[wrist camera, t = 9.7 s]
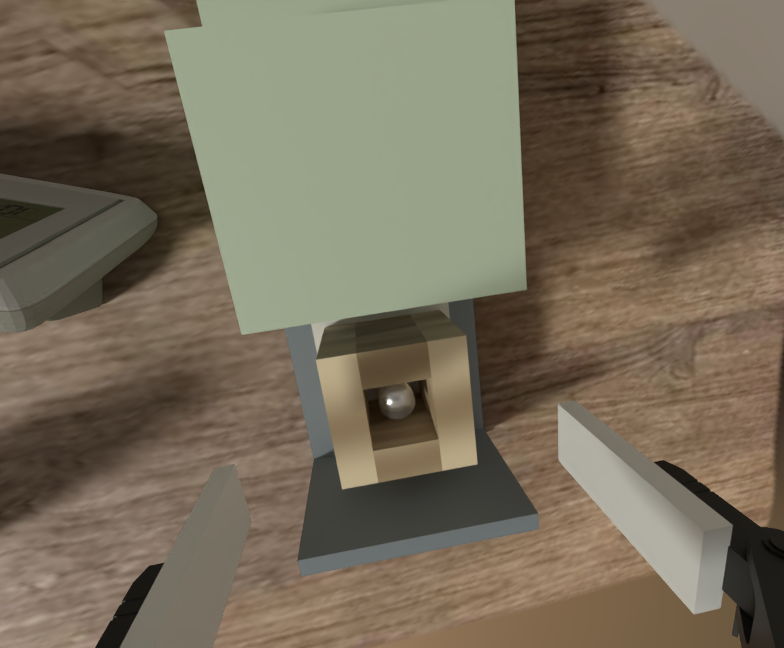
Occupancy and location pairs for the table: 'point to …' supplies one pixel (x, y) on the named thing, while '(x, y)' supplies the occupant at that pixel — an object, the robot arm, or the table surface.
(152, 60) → the table surface
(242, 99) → the sage cover
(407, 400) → the steel pin
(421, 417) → the birch collar
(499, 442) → the table surface
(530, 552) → the table surface
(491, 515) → the housing base
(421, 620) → the table surface
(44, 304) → the digital clock
